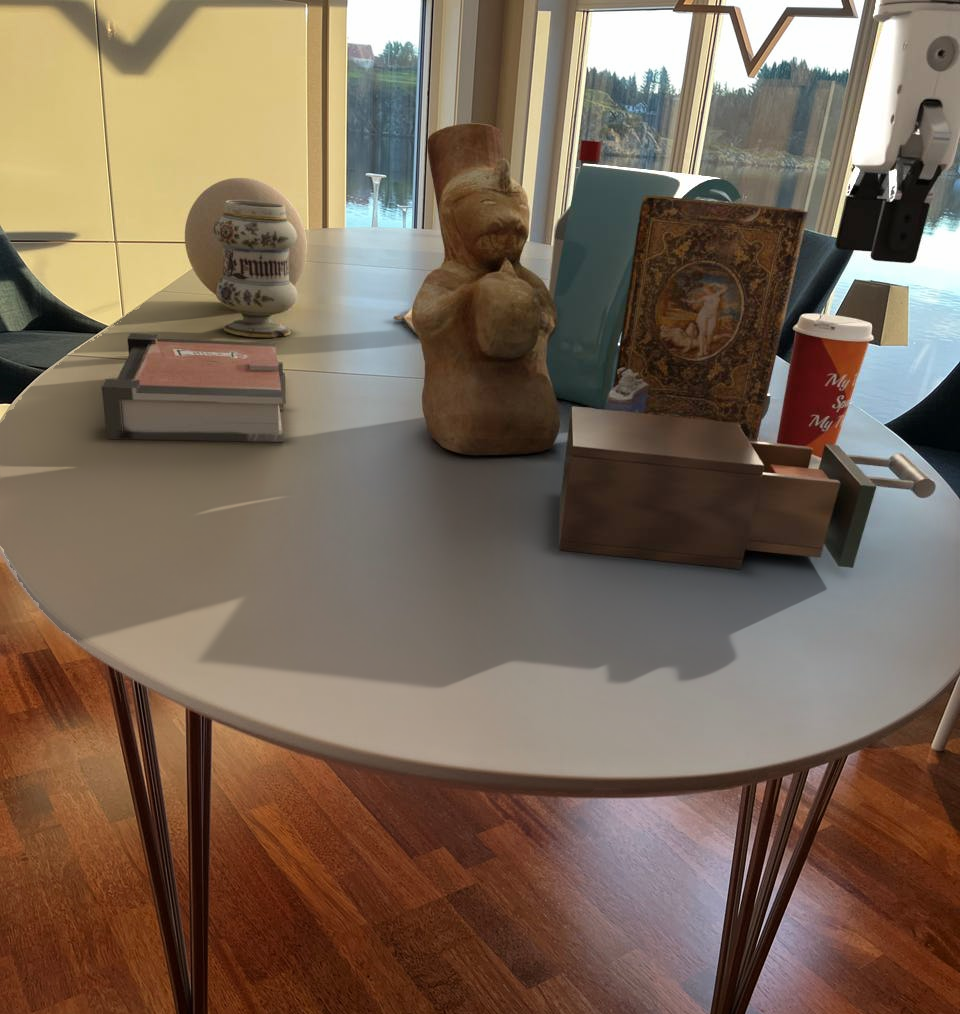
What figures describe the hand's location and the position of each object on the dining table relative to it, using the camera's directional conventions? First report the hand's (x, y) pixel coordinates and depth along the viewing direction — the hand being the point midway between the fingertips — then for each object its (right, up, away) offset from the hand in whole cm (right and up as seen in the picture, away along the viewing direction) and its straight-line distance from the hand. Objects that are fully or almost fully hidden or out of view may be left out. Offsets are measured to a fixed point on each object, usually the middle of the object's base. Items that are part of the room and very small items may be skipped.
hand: (872, 255), depth 74 cm
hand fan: (-38, +24, +88) cm, 99 cm away
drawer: (-5, -22, +6) cm, 23 cm away
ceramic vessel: (-32, -7, +30) cm, 44 cm away
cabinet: (-17, -21, +7) cm, 28 cm away
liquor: (-14, +28, +101) cm, 105 cm away
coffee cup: (+5, -10, +32) cm, 34 cm away
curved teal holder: (-8, 0, +48) cm, 49 cm away
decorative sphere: (-71, +28, +89) cm, 117 cm away
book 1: (-62, -5, +30) cm, 69 cm away
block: (-5, -21, +5) cm, 22 cm away
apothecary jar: (-65, +17, +70) cm, 97 cm away
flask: (-18, -15, +19) cm, 30 cm away
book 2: (-9, -9, +31) cm, 34 cm away
